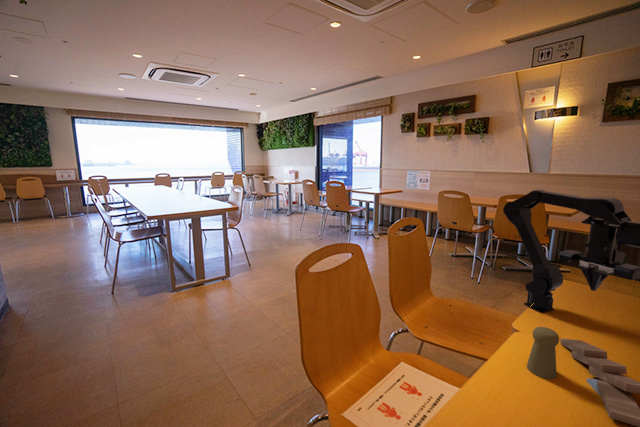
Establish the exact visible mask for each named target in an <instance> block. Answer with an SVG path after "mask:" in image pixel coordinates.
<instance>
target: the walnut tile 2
mask: <svg viewBox="0 0 640 427" xmlns="http://www.w3.org/2000/svg"><path fill="white" fill-rule="evenodd" d="M571 358H572V359H575V360H577V361H578V362H582V363H583V364H586V365H587V366H588V367H589V366H591V367H593V368H595V369H598V370H600V371H602V372H609V373H619V374H622V375H627V374H628V372H627V371H628V370H627V366H626V365H623V364H621V363H619V362H616V361H614V360H611V359H609V358H608V357H607V358H597V357H587V356H583V355H581V354H579V353H577V352H575V351H573V350H571Z"/></svg>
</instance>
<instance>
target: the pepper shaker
mask: <svg viewBox="0 0 640 427" xmlns="http://www.w3.org/2000/svg"><path fill="white" fill-rule="evenodd" d="M532 338H533V344H532V347H531V350H530V354H529V357H528V360H527V363H526V368H527V370H528V371H529V372H530V373H531V374H533V375H534V376H537V377H538V378H542V379H544V380H545V379H546V380H554V379H556V378H557V376H558V375H557V374H558V373H557V353H556V352H557V350H556V347H557V346H558V344H559V343H560V336H559V334H558V333H557V332H556V331H555V330H554V329H551V328H550V327H546V326H536V327H535V328H533V331H532Z"/></svg>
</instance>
